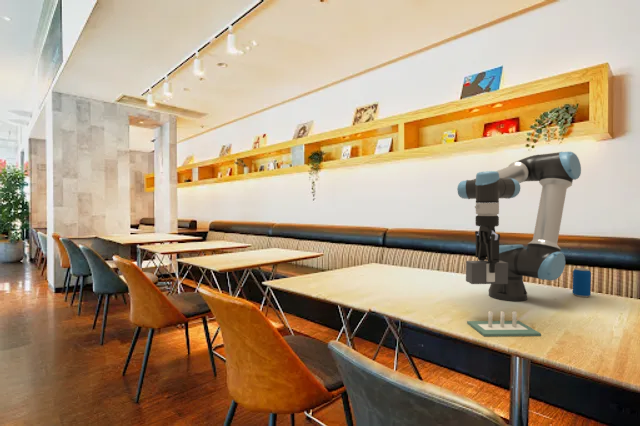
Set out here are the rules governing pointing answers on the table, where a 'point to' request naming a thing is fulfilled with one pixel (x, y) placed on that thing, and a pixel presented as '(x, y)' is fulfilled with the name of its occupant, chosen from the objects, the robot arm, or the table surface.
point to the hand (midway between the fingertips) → (486, 279)
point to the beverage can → (581, 282)
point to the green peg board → (503, 327)
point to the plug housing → (478, 272)
